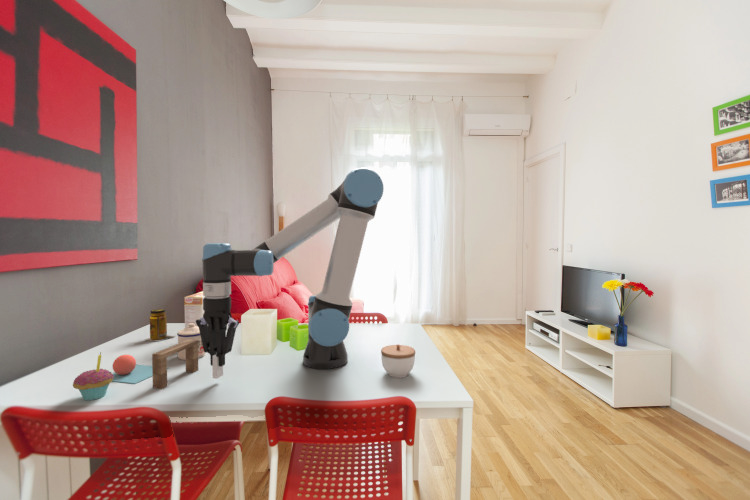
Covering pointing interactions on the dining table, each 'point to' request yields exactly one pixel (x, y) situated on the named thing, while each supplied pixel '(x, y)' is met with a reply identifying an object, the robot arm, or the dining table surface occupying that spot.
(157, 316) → the condiment
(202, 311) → the coffeecake box
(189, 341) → the bridge
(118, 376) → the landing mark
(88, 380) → the cupcake
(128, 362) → the ball
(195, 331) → the teacup with lid
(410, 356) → the lidded jar
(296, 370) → the dining table surface
